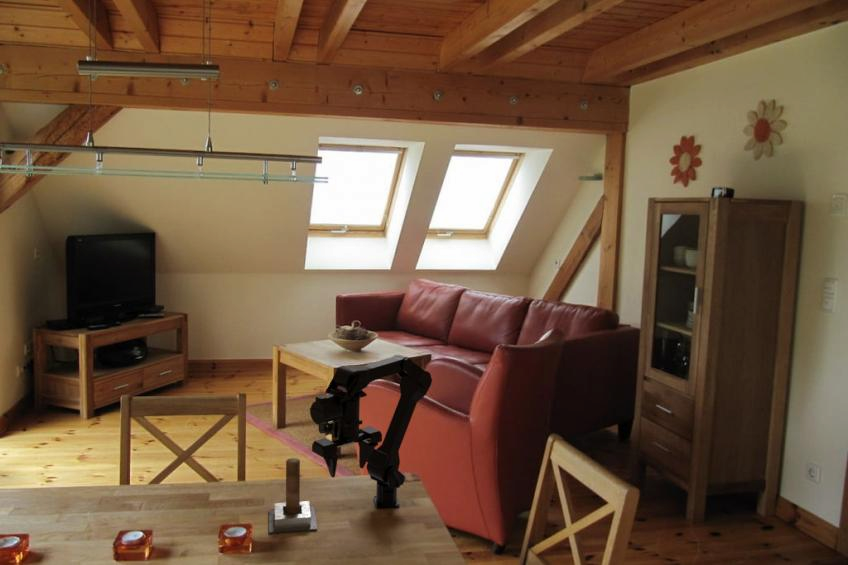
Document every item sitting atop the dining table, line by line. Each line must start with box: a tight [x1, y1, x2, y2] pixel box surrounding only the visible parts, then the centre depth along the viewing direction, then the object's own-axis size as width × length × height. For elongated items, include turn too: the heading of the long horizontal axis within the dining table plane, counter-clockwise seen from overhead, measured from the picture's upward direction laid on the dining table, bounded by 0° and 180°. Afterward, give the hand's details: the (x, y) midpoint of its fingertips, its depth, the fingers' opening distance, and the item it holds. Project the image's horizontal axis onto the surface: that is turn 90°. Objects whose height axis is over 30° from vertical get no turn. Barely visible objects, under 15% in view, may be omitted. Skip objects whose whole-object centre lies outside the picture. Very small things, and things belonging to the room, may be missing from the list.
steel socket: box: [268, 500, 318, 535], centre depth 183 cm, size 12×12×3 cm
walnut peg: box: [285, 457, 301, 515], centre depth 182 cm, size 4×4×16 cm
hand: (347, 472), depth 184 cm, fingers open, 9 cm apart
